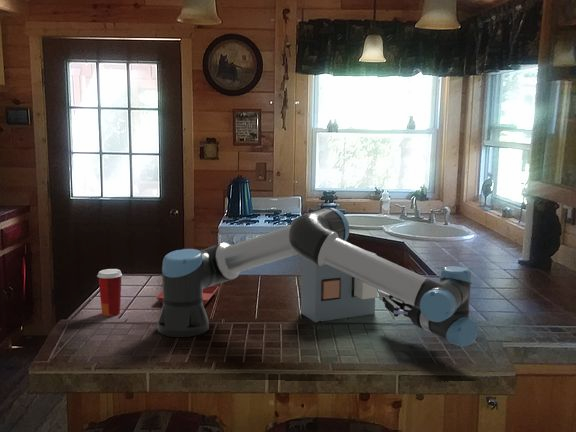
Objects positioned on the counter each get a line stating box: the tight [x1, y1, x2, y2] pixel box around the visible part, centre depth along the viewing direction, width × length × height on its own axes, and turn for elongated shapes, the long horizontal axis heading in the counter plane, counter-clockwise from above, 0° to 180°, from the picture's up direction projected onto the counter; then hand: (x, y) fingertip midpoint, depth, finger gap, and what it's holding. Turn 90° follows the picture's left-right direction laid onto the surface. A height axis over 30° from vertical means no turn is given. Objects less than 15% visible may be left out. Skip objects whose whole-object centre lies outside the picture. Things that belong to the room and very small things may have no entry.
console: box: [300, 249, 378, 323], centre depth 204 cm, size 10×22×20 cm, turn 115°
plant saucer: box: [155, 285, 219, 307], centre depth 220 cm, size 18×18×3 cm
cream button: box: [354, 278, 378, 299], centre depth 199 cm, size 5×6×6 cm
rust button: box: [321, 278, 340, 299], centre depth 199 cm, size 5×6×6 cm
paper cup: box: [96, 268, 123, 317], centre depth 202 cm, size 8×8×14 cm
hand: (381, 294), depth 192 cm, fingers closed
